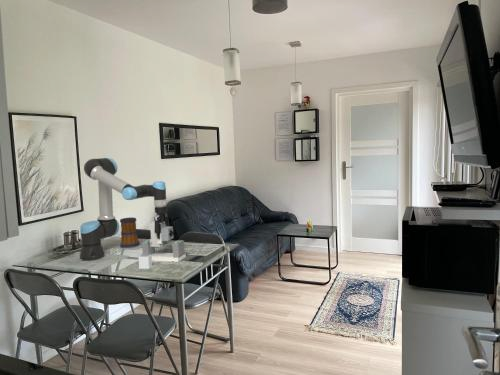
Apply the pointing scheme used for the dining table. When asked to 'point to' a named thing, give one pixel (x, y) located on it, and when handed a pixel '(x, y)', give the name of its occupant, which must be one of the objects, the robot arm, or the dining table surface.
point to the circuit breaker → (165, 232)
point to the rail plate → (175, 256)
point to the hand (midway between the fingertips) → (163, 241)
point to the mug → (128, 233)
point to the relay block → (145, 261)
